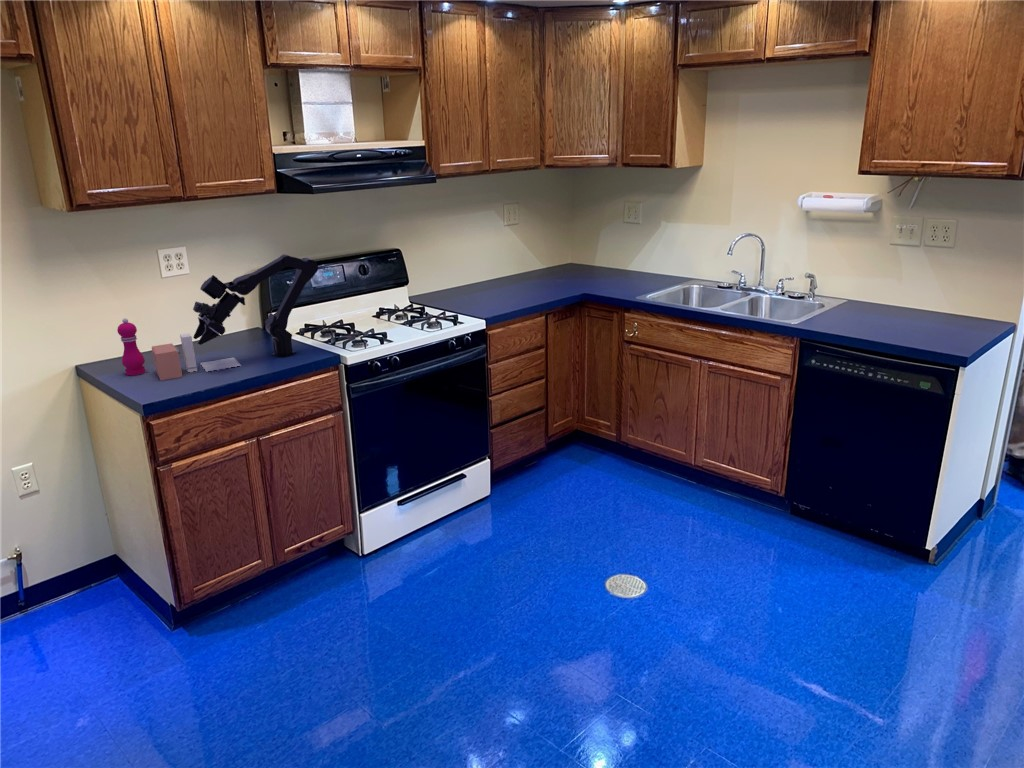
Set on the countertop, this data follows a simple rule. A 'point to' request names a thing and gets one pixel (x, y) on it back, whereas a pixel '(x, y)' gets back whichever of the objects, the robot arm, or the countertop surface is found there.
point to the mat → (220, 364)
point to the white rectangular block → (188, 352)
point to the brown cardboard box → (167, 361)
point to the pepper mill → (130, 349)
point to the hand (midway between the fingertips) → (196, 341)
